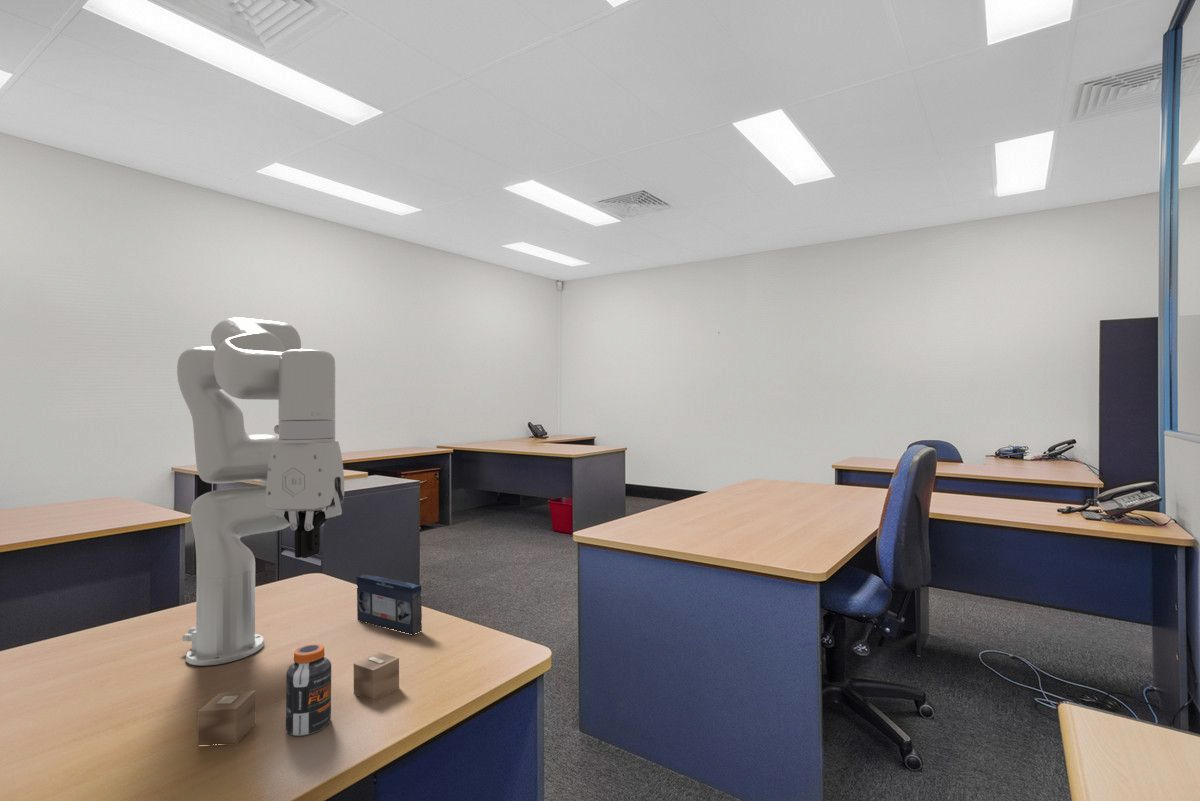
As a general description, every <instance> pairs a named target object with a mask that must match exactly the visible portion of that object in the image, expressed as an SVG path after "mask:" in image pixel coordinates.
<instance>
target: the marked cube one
mask: <svg viewBox="0 0 1200 801" xmlns="http://www.w3.org/2000/svg"><path fill="white" fill-rule="evenodd" d="M197 714H198V716H197V718H198V719H197V723H198V724H197V725H198V726H197V727H198V728H197V729H198V732H197V735H198V736H197V737H198V740H197V743H198V744H197V746H198V745H213V744H214V745H215V744H217V745H218V744H235V745H237V744H238V743H239V742H240V741H241V740H242V739H243V738H244V737H245V736H246V735H247V734H248V733H249V732H250V731H251V729H252V728H253V727H255V725H256V690H248V691H230V692H226V691H225V692H219V693H218V694H217V695H216V696H214V697H213V698H212V699H211V700H210V701H208V703H205V705H204V706H202V707H201V708H200V709H199V710H198V712H197ZM247 732H248V733H247ZM246 733H247V734H246ZM245 734H246V735H245ZM244 735H245V736H244ZM243 736H244V737H243ZM242 737H243V738H242ZM241 738H242V739H241ZM240 739H241V740H240ZM239 740H240V741H239ZM238 741H239V742H238ZM237 742H238V743H237ZM236 743H237V744H236ZM218 746H219V745H218Z"/></svg>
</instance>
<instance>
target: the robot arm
mask: <svg viewBox="0 0 1200 801" xmlns="http://www.w3.org/2000/svg"><path fill="white" fill-rule="evenodd" d="M301 340H302V339H301V337H300V334H299V331H297V329H296V328H295V327H294V326H292V325H291V324H290V323H287V322H283V321H274V320H265V319H257V318H248V317H247V318H246V317H231V318H230V317H229V318H226V319H224V320H222V321H220V322H219V323H217V324H216V325H215V326H214V327H213V329H212V330H211V334H210V342H211V344H212V346H197V347H191V348H188V349H186V350H184V351H183V352H182V353H180V355H179V357H178V359H177V363H176V364H177V366H176V374H177V376H176V377H177V383H178V386H179V390H180V392H181V396H182V398H183V399H184V402H185V403H186V406H187V408H188V410H189V413H190V415H191V418H192V428H193V439H194V440H193V441H194V453H195V465H196V470H197V474H198V476H199V478H200V480H201V481H202V482H205V483H207V484H232V483H243V482H244V483H245V482H253V481H254V482H255V481H259V482H261V484H262V485H258V486H256V485H255V486H249V487H248V486H247V487H246V486H244V487H236V488H234V487H232V488H224V489H217V490H211V491H208V492H205V493H204V494H202V495H200V496H198V497H197V498H196V499H195V500H194V501H193V503H192V505H191V508H190V521H191V527H192V531H193V538H194V545H195V546H194V547H195V556H196V557H195V558H196V559H195V561H196V563H195V564H196V565H195V566H196V573H195V574H196V596H195V597H196V604H195V606H196V608H195V609H196V611H195V612H196V613H195V614H196V617H195V618H196V621H195V622H196V623H195V624H196V625H195V626H191V627H190V628H189V629H188V632H187V633H184V634H183V635H182V641H183V642H191V648H190V649H188V651H187V652H186V654H185V661H186V663H187V664H189V665H192V666H203V667H205V666H206V667H207V666H216V665H223V664H226V663H231V662H235V661H238V660H241V659H244V658H247V657H249V656H251V655H254V654H255V653H257V652H258V651H260V650H261V649H262V648H263V646H264V645H265V638H264V636H263V635H261V634H259V633H256V558H255V556H254V552H253V551H252V550H251V549H250V548H249V547H248V546H246V545H245V543H244V542H242V540H241V538H242V537H249V536H250V535H257V534H263V533H270V532H276V531H281V530H284V529H286V528H288V527H290V530H291V531H294V558H296V559H300V558H302V559H308V558H310V557H313V556H316V555H318V554H319V553H320V547H321V543H320V542H321V534H320V533H321V528H322V527H324V525H325V523H326V521H327V520H328V519H329V518H334V517H335V518H336V517H337V516H341V515H342V514H343V509H342V505H341V504H343V502H344V499H345V474H344V473H345V472H344V464H343V463H344V462H343V457H342V451H341V447H340V442H339V441H338V440H336V360H335V357H334V355H333V354H331V353H330V352H328V351H327V350H326V351H325V350H319V349H306V348H302V341H301ZM221 390H223V391H224V392H225V393H226V394H225V393H223V392H222V391H221ZM227 394H228V395H227ZM229 396H230V397H232V398H236V399H239V400H272V401H273V400H274V401H275V400H278V424H277V425H275V426H274V427H273V428H274V429H273V431H274V433H275V434H277V435H274V434H247V433H246V429H245V422H244V421H245V419H244V414H243V411H242V410H241V408H240V407H239V406H238V405H237V404H236V403H235V401H234V400H232V398H230V397H229Z"/></svg>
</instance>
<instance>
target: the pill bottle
mask: <svg viewBox="0 0 1200 801" xmlns="http://www.w3.org/2000/svg"><path fill="white" fill-rule="evenodd" d="M325 654H326V653H325V646H324V645H323V644H321V643H312V644H305V645H302V646H300V647H298V648H296V649H295V650H294V652H293V662H292V663H291V665H289V666H288V668H287V670H286V674H285V675H286V677H285V678H286V679H285V682H286V683H285V684H286V686H285V691H286V692H285V731H286V732H287V734H289V735H291V736H296V737H299V736H300V737H301V736H307V735H310V734H314V733H317V732H319V731H321V730H323V729H324V728H325V727H327V726H328V724H330V723H331V720H332V719H331V718H332V717H331V715H332V663H331V660H330V659H329V658H327V657H325Z"/></svg>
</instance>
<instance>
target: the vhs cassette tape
mask: <svg viewBox="0 0 1200 801" xmlns="http://www.w3.org/2000/svg"><path fill="white" fill-rule="evenodd" d="M356 586H357V588H356V607H357V608H356V609H357V610H356V611H357V612H356V613H357V621H358V620H360V621H359V622H361V621H362V622H361V623H364V622H367V623H366V624H368V623H370V624H369V625H371V624H374V625H373V626H375V625H377V626H376V627H378V626H381V627H380V628H382V627H386V628H389V629H394V630H397V631H401V632H405V633H409V634H412V635H413V636H415V635H414V634H415V633H418V632H420V631H422V632H423V628H422V627H423V624H422V621H423V620H422V619H423V618H422V617H423V616H422V615H423V614H422V606H423V605H422V586H421V585H420V584H416V583H412V582H406V581H402V580H398V579H397V580H396V579H390V578H386V577H383V576H382V577H381V576H378V575H377V576H376V575H372V574H371V575H370V574H365V573H364V574H361V575H358V576H356ZM389 629H388V630H389ZM420 633H421V632H420ZM418 634H419V633H418Z"/></svg>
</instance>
